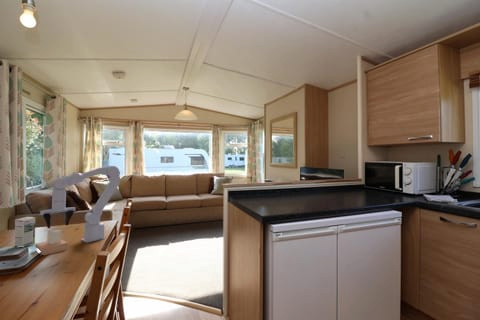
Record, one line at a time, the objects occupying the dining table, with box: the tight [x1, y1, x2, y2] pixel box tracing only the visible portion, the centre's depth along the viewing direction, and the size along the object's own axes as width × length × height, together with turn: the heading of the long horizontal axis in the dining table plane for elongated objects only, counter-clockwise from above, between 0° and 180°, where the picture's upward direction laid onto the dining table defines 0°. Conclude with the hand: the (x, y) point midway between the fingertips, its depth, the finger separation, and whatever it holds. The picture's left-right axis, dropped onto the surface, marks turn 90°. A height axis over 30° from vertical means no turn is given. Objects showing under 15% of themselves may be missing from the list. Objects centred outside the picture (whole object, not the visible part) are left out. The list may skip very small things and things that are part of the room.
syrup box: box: [13, 216, 36, 247], centre depth 118 cm, size 6×6×14 cm
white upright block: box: [46, 229, 62, 245], centre depth 112 cm, size 4×4×6 cm
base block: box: [35, 238, 68, 256], centre depth 112 cm, size 10×10×4 cm
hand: (57, 226), depth 119 cm, fingers open, 7 cm apart
